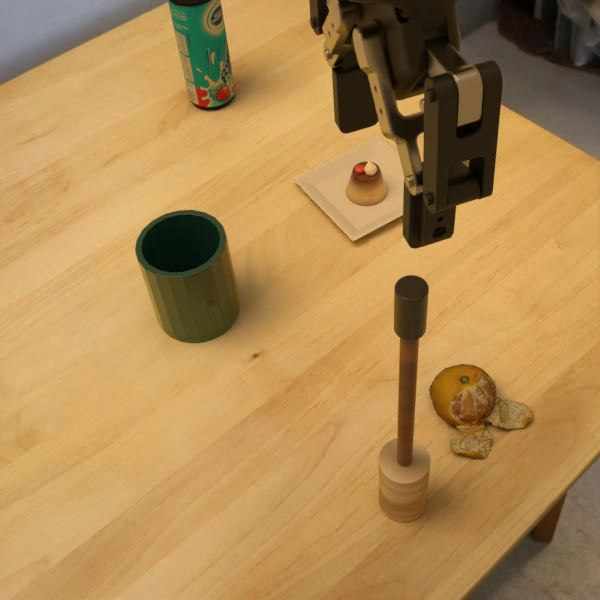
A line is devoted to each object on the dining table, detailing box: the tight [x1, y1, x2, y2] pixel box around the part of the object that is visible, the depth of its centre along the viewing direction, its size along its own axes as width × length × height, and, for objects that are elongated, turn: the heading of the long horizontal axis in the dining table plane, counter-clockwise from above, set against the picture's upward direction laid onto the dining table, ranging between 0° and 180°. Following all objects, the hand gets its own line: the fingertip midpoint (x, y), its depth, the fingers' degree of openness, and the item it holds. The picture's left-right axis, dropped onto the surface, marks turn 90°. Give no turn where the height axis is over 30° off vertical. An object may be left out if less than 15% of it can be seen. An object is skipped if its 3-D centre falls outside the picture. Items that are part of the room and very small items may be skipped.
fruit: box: [428, 363, 533, 460], centre depth 75 cm, size 8×8×4 cm
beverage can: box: [167, 0, 236, 110], centre depth 102 cm, size 6×6×15 cm
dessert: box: [292, 135, 404, 242], centre depth 93 cm, size 12×12×5 cm
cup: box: [134, 209, 241, 344], centre depth 82 cm, size 8×8×10 cm
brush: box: [378, 274, 431, 523], centre depth 61 cm, size 4×4×28 cm
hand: (390, 179), depth 41 cm, fingers open, 8 cm apart
